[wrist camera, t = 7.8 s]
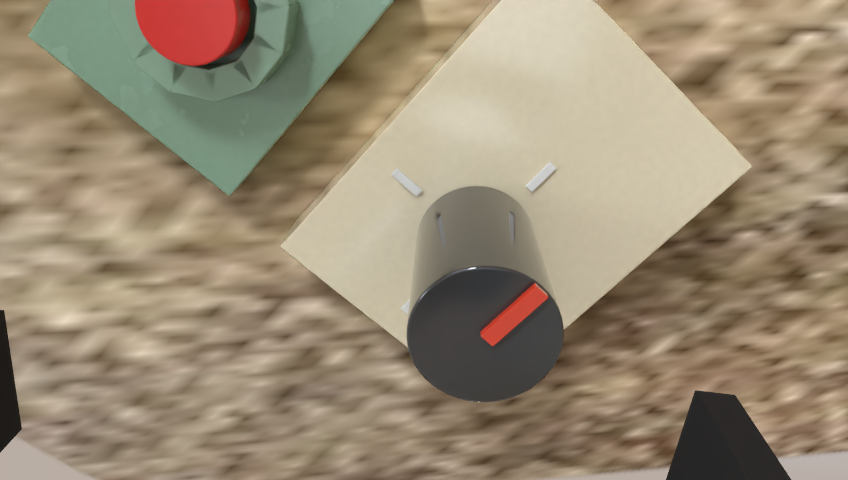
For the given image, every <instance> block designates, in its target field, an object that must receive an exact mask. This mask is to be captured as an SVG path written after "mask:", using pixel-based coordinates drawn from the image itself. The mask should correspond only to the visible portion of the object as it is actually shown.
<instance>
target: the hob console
mask: <svg viewBox="0 0 848 480" xmlns="http://www.w3.org/2000/svg"><path fill="white" fill-rule="evenodd" d="M751 167H752V165H751V164H750V163H749V162H748V161H747V160H746V158H745V157H744V156H743V155H742V154H741V153H740V152H739V151H738V150H737V149H736V148H735V147H734V146H733V145H732V144H731V143H730V142H729V141H728V140H727V139H726V138H725V136H724V135H723V134H722V133H721V132H720V131H719V130H718V129H717V128H716V127H715V126H714V125H713V124H712V123H711V122H710V121H709V120H708V119H707V118H706V117H705V116H704V114H703V113H702V112H701V111H700V110H699V109H698V108H697V107H696V106H695V105H694V104H693V103H692V102H691V101H690V100H689V99H688V98H687V97H686V96H685V95H684V94H683V92H682V91H681V90H680V89H679V88H678V87H677V86H676V85H675V84H674V83H673V82H672V81H671V80H670V79H669V78H668V77H667V76H666V75H665V74H664V73H663V72H662V70H661V69H660V68H659V67H658V66H657V65H656V64H655V63H654V62H653V61H652V60H651V59H650V58H649V57H648V56H647V55H646V54H645V53H644V52H643V51H642V50H641V48H640V47H639V46H638V45H637V44H636V43H635V42H634V41H633V40H632V39H631V38H630V37H629V36H628V35H627V34H626V33H625V32H624V31H623V30H622V29H621V28H620V26H619V25H618V24H617V23H616V22H615V21H614V20H613V19H612V18H611V17H610V16H609V15H608V14H607V13H606V12H605V11H604V10H603V9H602V8H601V7H600V6H599V4H598V3H597V2H596V1H595V0H492V2H491V3H490V4H489V5H488V6H487V7H486V8H485V9H484V11H483V12H482V13H481V14H480V15H479V16H478V17H477V18H476V20H475V21H474V22H473V23H472V24H471V25H470V26H469V27H468V28H467V30H466V31H465V32H464V33H463V34H462V35H461V36H460V37H459V39H458V40H457V41H456V42H455V43H454V44H453V45H452V46H451V48H450V49H449V50H448V51H447V52H446V53H445V54H444V55H443V57H442V58H441V59H440V60H439V61H438V62H437V63H436V64H435V65H434V67H433V68H432V69H431V70H430V71H429V72H428V73H427V74H426V76H425V77H424V78H423V79H422V80H421V81H420V82H419V83H418V85H417V86H416V87H415V88H414V89H413V90H412V91H411V92H410V94H409V95H408V96H407V97H406V98H405V99H404V100H403V101H402V102H401V104H400V105H399V106H398V107H397V108H396V109H395V110H394V111H393V113H392V114H391V115H390V116H389V117H388V118H387V119H386V120H385V122H384V123H383V124H382V125H381V126H380V127H379V128H378V129H377V131H376V132H375V133H374V134H373V135H372V136H371V137H370V138H369V139H368V141H367V142H366V143H365V144H364V145H363V146H362V147H361V148H360V150H359V151H358V152H357V153H356V154H355V155H354V156H353V157H352V159H351V160H350V161H349V162H348V163H347V164H346V165H345V166H344V167H343V169H342V170H341V171H340V172H339V173H338V174H337V175H336V176H335V178H334V179H333V180H332V181H331V182H330V183H329V184H328V185H327V187H326V188H325V189H324V190H323V191H322V192H321V193H320V194H319V196H318V197H317V198H316V199H315V200H314V201H313V202H312V203H311V204H310V206H309V207H308V208H307V209H306V210H305V211H304V212H303V213H302V215H301V216H300V217H299V218H298V219H297V220H296V221H295V223H294V224H293V226H292V228H291V229H290V231H289V233H288V234H287V236H286V238H285V240H284V241H283V243H282V245H281V248H282V249H283V250H284V251H286V252H287V253H288V254H290V255H291V256H292V257H293V258H295V259H296V260H297V261H298V262H300V263H301V264H302V265H303V266H305V267H306V268H307V269H309V270H310V271H311V272H312V273H314V274H315V275H316V276H317V277H319V278H320V279H321V280H322V281H324V282H325V283H326V284H328V285H329V286H330V287H331V288H333V289H334V290H335V291H336V292H338V293H339V294H340V295H341V296H343V297H344V298H345V299H347V300H348V301H349V302H350V303H352V304H353V305H354V306H355V307H357V308H358V309H359V310H360V311H362V312H363V313H364V314H366V315H367V316H368V317H369V318H371V319H372V320H373V321H374V322H376V323H377V324H378V325H379V326H381V327H382V328H383V329H385V330H386V331H387V332H388V333H390V334H391V335H392V336H393V337H395V338H396V339H397V340H398V341H400V342H401V343H402V344H404V345H405V346H406V347H407V348H408V345H407V322H408V312H409V303H410V294H411V285H412V276H413V266H414V257H415V248H416V239H417V232H418V228H419V224H420V222H421V220H422V217H423V215H424V214H425V212H426V211H427V209H428V208H429V207H430V206H431V205H432V204H433V203H434V202H435V201H436V200H437V199H439V198H440V197H442V196H443V195H445V194H447V193H449V192H451V191H453V190H456V189H459V188H463V187H470V186H483V187H489V188H493V189H496V190H499V191H501V192H504V193H506V194H507V195H509V196H511V197H512V198H513V199H514V200H516V201H517V202H518V203H519V204H520V205H521V206H522V207H523V209H524V210H525V212H526V213H527V215H528V217H529V219H530V221H531V224H532V227H533V230H534V233H535V236H536V239H537V242H538V246H539V249H540V252H541V255H542V258H543V261H544V264H545V267H546V270H547V273H548V276H549V279H550V282H551V285H552V288H553V291H554V294H555V297H556V301H557V304H558V307H559V310H560V313H561V316H562V320H563V326H564V329H566V328H567V327H568V326H569V325H570V324H571V323H572V322H574V321H575V320H576V319H577V318H578V317H579V316H581V315H582V314H583V313H584V312H585V311H586V310H587V309H589V308H590V307H591V306H592V305H593V304H594V303H596V302H597V301H598V300H599V299H600V298H601V297H602V296H604V295H605V294H606V293H607V292H608V291H609V290H611V289H612V288H613V287H614V286H615V285H616V284H617V283H619V282H620V281H621V280H622V279H623V278H624V277H626V276H627V275H628V274H629V273H630V272H631V271H633V270H634V269H635V268H636V267H637V266H638V265H639V264H641V263H642V262H643V261H644V260H645V259H646V258H648V257H649V256H650V255H651V254H652V253H653V252H654V251H656V250H657V249H658V248H659V247H660V246H661V245H663V244H664V243H665V242H666V241H667V240H668V239H669V238H671V237H672V236H673V235H674V234H675V233H676V232H678V231H679V230H680V229H681V228H682V227H683V226H684V225H686V224H687V223H688V222H689V221H690V220H691V219H693V218H694V217H695V216H696V215H697V214H698V213H699V212H701V211H702V210H703V209H704V208H705V207H706V206H708V205H709V204H710V203H711V202H712V201H713V200H714V199H716V198H717V197H718V196H719V195H720V194H721V193H723V192H724V191H725V190H726V189H727V188H728V187H729V186H731V185H732V184H733V183H734V182H735V181H736V180H738V179H739V178H740V177H741V176H742V175H743V174H744V173H746V172H747V171H748V170H749V169H750V168H751ZM477 403H480V402H477Z"/></svg>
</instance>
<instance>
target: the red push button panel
mask: <svg viewBox="0 0 848 480" xmlns="http://www.w3.org/2000/svg"><path fill="white" fill-rule="evenodd" d="M248 1H249V6H250V25H249V29H248V32H247V35H246V37H245V39H244V41H243V42H242V44H241V45H240V46H239V47H238V48H237V49H236V50H235V51H234V52H232V53H231V54H229V55H228V56H225V57H223V58H221V59H218V60H216V61H213V62H211V63H209V64H205V65H200V66H187V65H182V64H178V63H175V62H173V61H171V60H169V59H167V58H165V57H164V56H162V55H161V54H159V53H158V52H157V51H156V50H155V49H154V48H153V47H152V46H151V45H150V44H149V43H148V41H147V40H146V38H145V37H144V35H143V33H142V31H141V30H140V27H139V25H138V22H137V18H136V13H135V0H50V2H49V4H48V5H47V7H46V8H45V10H44V11H43V13H42V15H41V16H40V18H39V19H38V21H37V23H36V24H35V26H34V27H33V29H32V30H31V32H30V34H29V35H28V37H29V38H31V39H32V40H33V41H34V42H36V43H37V44H38V45H39V46H41V47H42V48H43V49H44V50H46V51H47V52H48V53H49V54H51V55H52V56H53V57H55V58H56V59H57V60H58V61H60V62H61V63H62V64H63V65H65V66H66V67H67V68H68V69H70V70H71V71H72V72H73V73H75V74H76V75H77V76H78V77H80V78H81V79H82V80H83V81H85V82H86V83H87V84H89V85H90V86H91V87H92V88H94V89H95V90H96V91H97V92H99V93H100V94H101V95H102V96H104V97H105V98H106V99H107V100H109V101H110V102H111V103H112V104H114V105H115V106H116V107H117V108H119V109H120V110H121V111H123V112H124V113H125V114H126V115H128V116H129V117H130V118H131V119H133V120H134V121H135V122H136V123H138V124H139V125H140V126H141V127H143V128H144V129H145V130H146V131H148V132H149V133H150V134H151V135H153V136H154V137H155V138H157V139H158V140H159V141H160V142H162V143H163V144H164V145H165V146H167V147H168V148H169V149H170V150H172V151H173V152H174V153H175V154H177V155H178V156H179V157H180V158H182V159H183V160H184V161H185V162H187V163H188V164H189V165H190V166H192V167H193V168H194V169H196V170H197V171H198V172H199V173H201V174H202V175H203V176H204V177H206V178H207V179H208V180H209V181H211V182H212V183H213V184H214V185H216V186H217V187H218V188H219V189H221V190H222V191H223V192H224V193H226V194H227V195H228V196H231V195H232V194H233V192H234V191H235V190H236V189H237V188H238V187H239V186H240V185H241V184H242V183H243V182H244V181H245V179H246V178H247V177H248V176H249V175H250V173H251V172H252V171H253V170H254V169H255V167H256V166H257V165H258V164H259V163H260V161H261V160H262V159H263V158H264V157H265V155H266V154H267V153H268V152H269V151H270V149H271V148H272V147H273V146H274V145H275V144H276V142H277V141H278V140H279V139H280V138H281V136H282V135H283V134H284V133H285V132H286V130H287V129H288V128H289V127H290V126H291V124H292V123H293V122H294V121H295V120H296V118H297V117H298V116H299V115H300V114H301V112H302V111H303V110H304V109H305V108H306V106H307V105H308V104H309V103H310V102H311V100H312V99H313V98H314V97H315V96H316V94H317V93H318V92H319V91H320V90H321V88H322V87H323V86H324V85H325V84H326V82H327V81H328V80H329V79H330V78H331V76H332V75H333V74H334V73H335V72H336V70H337V69H338V68H339V67H340V66H341V65H342V63H343V62H344V61H345V60H346V59H347V57H348V56H349V55H350V54H351V53H352V51H353V50H354V49H355V48H356V47H357V45H358V44H359V43H360V42H361V41H362V39H363V38H364V37H365V36H366V35H367V33H368V32H369V31H370V30H371V29H372V27H373V26H374V25H375V24H376V23H377V21H378V20H379V19H380V18H381V17H382V15H383V14H384V13H385V12H386V11H387V9H388V8H389V7H390V6H391V5H392V3H393V2H394V1H395V0H248Z"/></svg>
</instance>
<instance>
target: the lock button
mask: <svg viewBox="0 0 848 480" xmlns="http://www.w3.org/2000/svg"><path fill="white" fill-rule="evenodd" d="M135 13H136V18H137V22H138V25H139V27H140V30H141V31H142V33H143V35H144V37H145V38H146V40H147V41H148V43H149V44H150V45H151V46H152V47H153V48H154V49H155V50H156V51H157V52H158V53H159V54H161V55H162V56H164V57H165V58H167V59H169V60H171V61H173V62H175V63H178V64H182V65H187V66H200V65H205V64H209V63H211V62H213V61H216V60H218V59H221V58H223V57H225V56H228V55H229V54H231V53H232V52H234V51H235V50H236V49H237V48H238V47H239V46H240V45H241V44H242V42H243V41H244V39H245V37H246V35H247V32H248V29H249V25H250V6H249V1H248V0H135Z"/></svg>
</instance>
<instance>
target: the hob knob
mask: <svg viewBox="0 0 848 480" xmlns="http://www.w3.org/2000/svg"><path fill="white" fill-rule="evenodd" d="M563 338H564V326H563V320H562V316H561V313H560V310H559V307H558V304H557V301H556V297H555V294H554V291H553V288H552V285H551V282H550V279H549V276H548V273H547V270H546V267H545V264H544V261H543V258H542V255H541V252H540V249H539V246H538V242H537V239H536V236H535V233H534V230H533V227H532V224H531V221H530V219H529V217H528V215H527V213H526V212H525V210H524V209H523V207H522V206H521V205H520V204H519V203H518V202H517V201H516V200H514V199H513V198H512V197H511V196H509V195H507V194H506V193H504V192H501V191H499V190H496V189H493V188H489V187H483V186H470V187H463V188H459V189H456V190H453V191H451V192H449V193H447V194H445V195H443V196H442V197H440V198H439V199H437V200H436V201H435V202H434V203H433V204H432V205H431V206H430V207H429V208H428V209H427V211H426V212H425V214H424V215H423V217H422V220H421V222H420V224H419V228H418V232H417V239H416V248H415V257H414V266H413V276H412V285H411V294H410V303H409V312H408V322H407V345H408V349H409V353H410V356H411V358H412V360H413V363H414V364H415V366H416V367H417V369H418V371H419V372H420V373H421V374H422V375H423V377H424V378H425V379H426V380H427V381H428V382H430V383H431V384H432V385H433V386H435V387H436V388H437V389H439V390H441V391H442V392H444V393H446V394H448V395H451V396H453V397H456V398H459V399H463V400H467V401H474V402H494V401H500V400H505V399H509V398H512V397H515V396H517V395H520V394H522V393H524V392H526V391H528V390H529V389H531V388H533V387H534V386H535V385H537V384H538V383H539V382H540V381H541V380H542V379H544V378H545V377H546V375H547V374H548V373H549V372H550V371H551V369H552V368H553V366H554V364H555V363H556V361H557V359H558V357H559V354H560V352H561V348H562V345H563Z"/></svg>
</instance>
